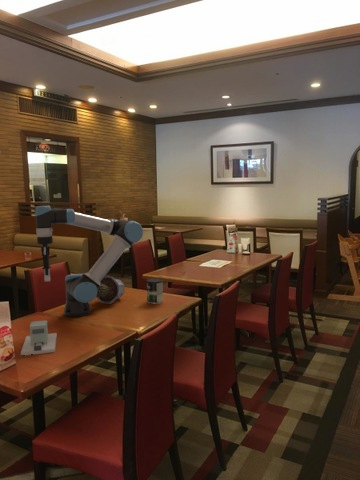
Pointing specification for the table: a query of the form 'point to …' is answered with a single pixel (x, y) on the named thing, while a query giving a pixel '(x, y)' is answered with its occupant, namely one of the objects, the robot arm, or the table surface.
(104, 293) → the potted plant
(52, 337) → the mounting plate
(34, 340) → the block
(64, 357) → the table surface
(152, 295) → the coffee can
